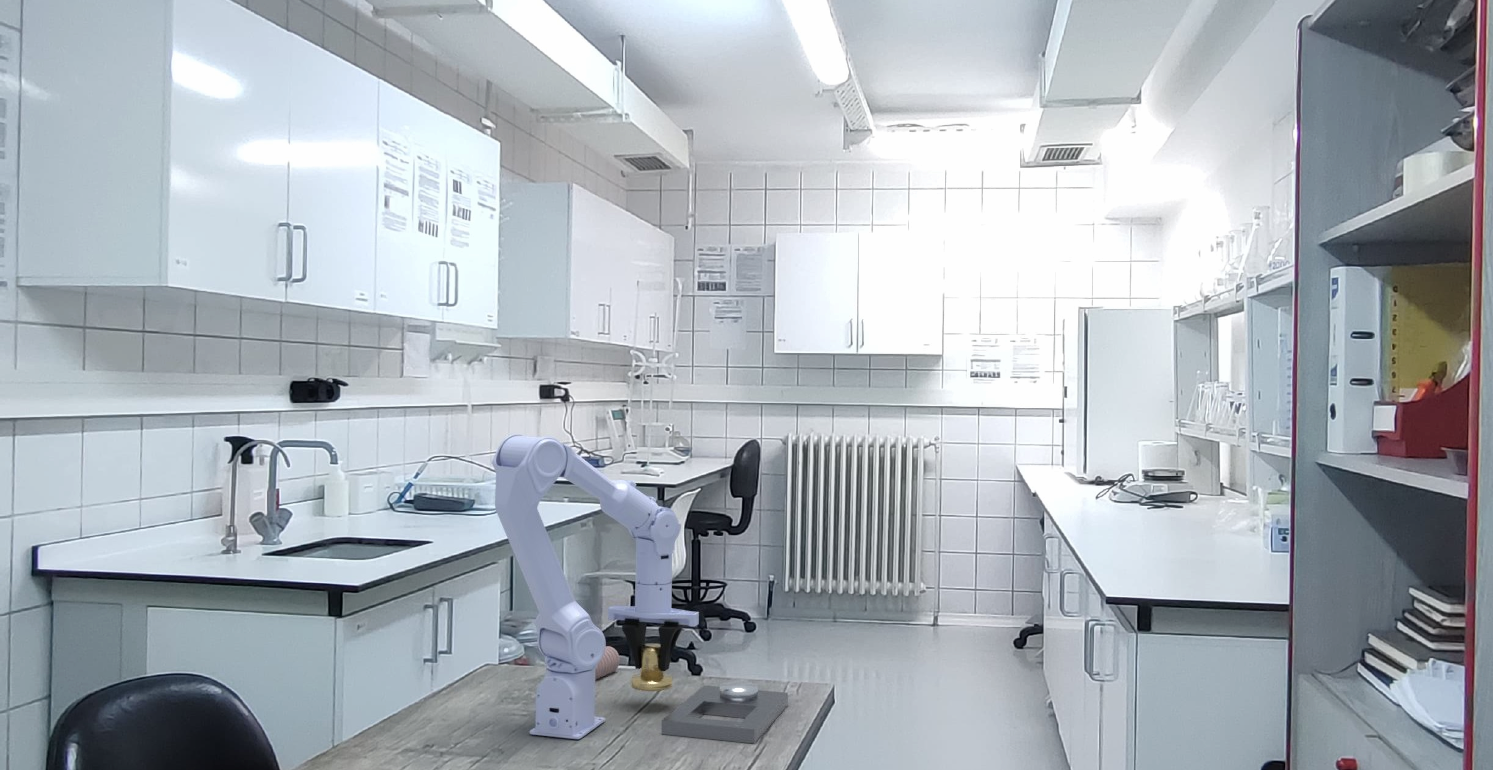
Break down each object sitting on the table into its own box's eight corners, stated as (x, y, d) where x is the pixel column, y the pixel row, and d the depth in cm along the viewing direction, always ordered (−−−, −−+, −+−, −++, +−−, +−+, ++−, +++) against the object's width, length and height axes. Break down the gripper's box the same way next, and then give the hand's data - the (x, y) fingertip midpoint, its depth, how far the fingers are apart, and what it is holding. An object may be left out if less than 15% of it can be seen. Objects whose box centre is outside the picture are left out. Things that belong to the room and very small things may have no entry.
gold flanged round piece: (664, 692, 169) (664, 652, 169) (624, 689, 171) (625, 649, 171) (678, 682, 175) (678, 643, 175) (640, 678, 177) (640, 640, 177)
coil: (568, 671, 179) (624, 648, 195) (544, 665, 181) (601, 642, 197) (565, 699, 179) (621, 674, 195) (541, 693, 181) (598, 668, 197)
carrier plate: (754, 743, 156) (754, 718, 156) (661, 734, 160) (661, 710, 160) (787, 705, 175) (788, 683, 175) (704, 697, 179) (704, 676, 179)
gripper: (705, 580, 175) (704, 666, 175) (620, 575, 179) (619, 659, 179) (691, 588, 168) (689, 677, 168) (603, 582, 172) (601, 669, 172)
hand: (652, 668), depth 173 cm, fingers closed on gold flanged round piece, 4 cm apart
